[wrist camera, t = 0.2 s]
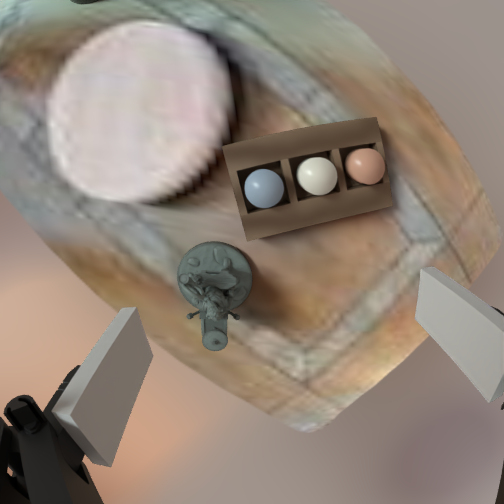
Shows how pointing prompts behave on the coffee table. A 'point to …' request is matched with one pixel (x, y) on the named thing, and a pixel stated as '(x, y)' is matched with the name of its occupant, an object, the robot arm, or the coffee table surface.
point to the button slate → (264, 188)
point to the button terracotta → (364, 166)
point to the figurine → (214, 287)
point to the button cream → (316, 175)
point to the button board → (285, 166)
